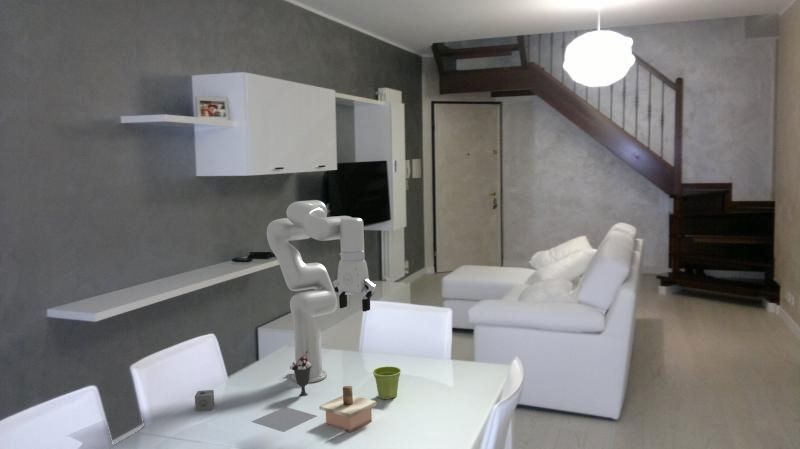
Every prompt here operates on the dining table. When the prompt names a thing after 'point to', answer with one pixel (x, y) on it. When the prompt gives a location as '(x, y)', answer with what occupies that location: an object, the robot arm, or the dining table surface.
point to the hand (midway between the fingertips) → (354, 309)
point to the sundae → (302, 373)
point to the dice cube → (204, 400)
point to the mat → (284, 419)
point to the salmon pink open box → (349, 420)
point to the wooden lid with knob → (348, 404)
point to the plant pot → (387, 381)
